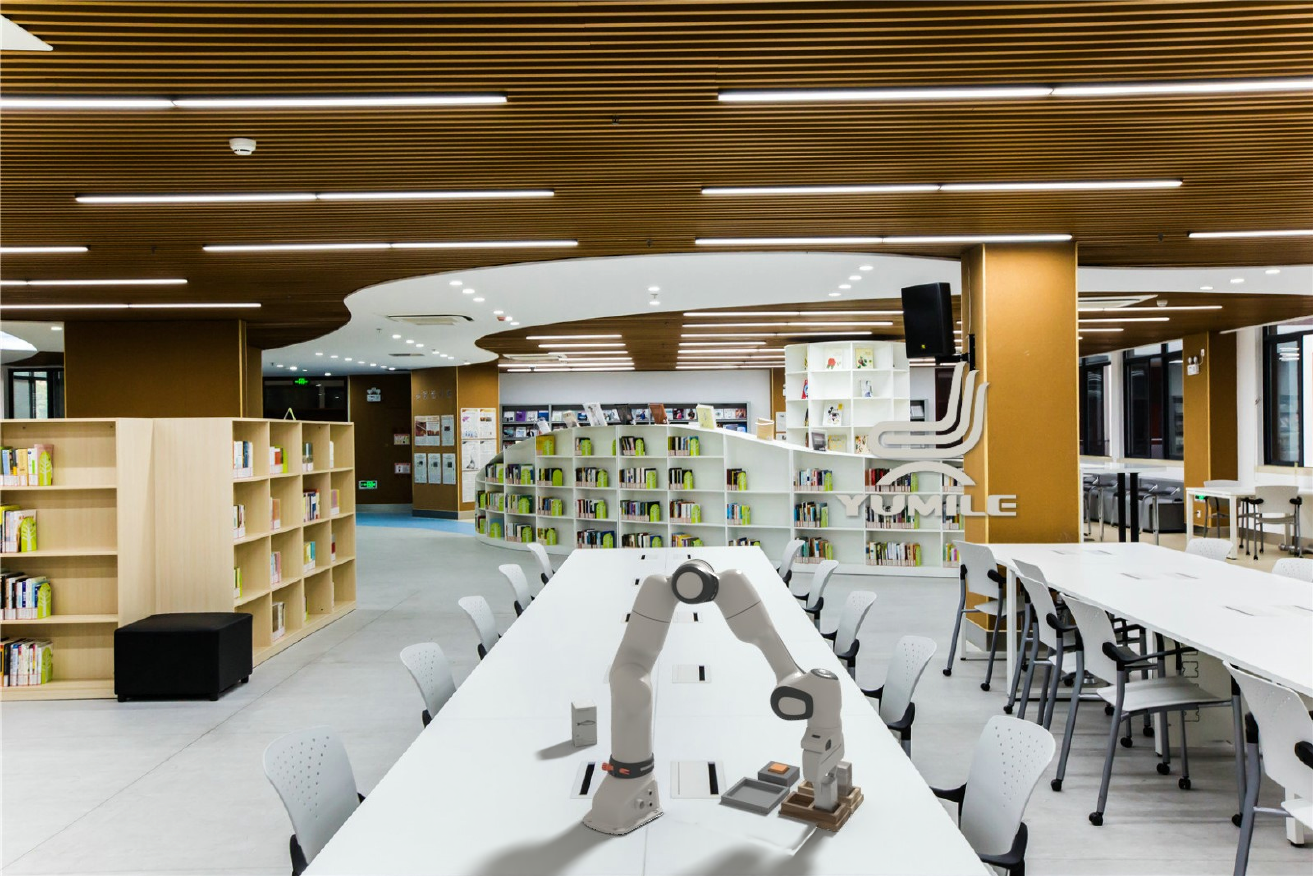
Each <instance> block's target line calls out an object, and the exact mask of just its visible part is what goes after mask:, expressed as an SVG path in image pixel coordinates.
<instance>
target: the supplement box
mask: <svg viewBox="0 0 1313 876" xmlns="http://www.w3.org/2000/svg"><path fill="white" fill-rule="evenodd" d="M570 706H571V709H570V710H571V714H570V716H571V740H572V742H573V744H574V746H575V747H576V746H577V747H581V746H591V745H598V723H597V722H598V721H597V720H598V718H597V715H598V712H597V710H598V709H597V708H598V707H597V704H596V703H595V702H594V699H588V700H587V699H586V700H578V701H577V700H576V701H571V703H570Z"/></svg>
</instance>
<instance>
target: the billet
mask: <svg viewBox="0 0 1313 876" xmlns="http://www.w3.org/2000/svg"><path fill="white" fill-rule="evenodd" d="M820 783H821V786H822V793H821V794H820V795H816V794H814V798H815V809H816V810H820V811H824V812H828V813H832V814H834V813H835V812H836V811H837V809H838V798H837V778H834V777H830V776H827V774H826V775H825V776H824V777H823V778H822V779H821V782H820Z"/></svg>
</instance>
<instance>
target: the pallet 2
mask: <svg viewBox="0 0 1313 876" xmlns="http://www.w3.org/2000/svg"><path fill="white" fill-rule="evenodd" d="M777 811H778V812H777V813H778V814H781V815H785V816H787V817H791V818H796V819H799V820H803V821H807V822H811V823H815V824H816V825H815V827H816V828H821V829H823V830H827V829H829V830H828V831H831V830H832V831H831V832H835V831H836V833H838V832H837V831H839V830H840V829H841V828H842V827H843V826H842V825H844V824H845V823H846V822H847V821H846V820H848V819H850V818H851V817H850V816H851V814H850V811H849V810H847V804H846V803H841V802H838V809H837V811H836V812H835V813H834V814H832V813H828V812H824V811H820V810H816V809H815V798H814V796H812V795H808V794H804V793H800V792H798V791H795V790H793V791H791V792H790V794H789V795H788V796H787V797H785V798H784V799H783V800H782V801H781V802H780V808H779V810H777Z"/></svg>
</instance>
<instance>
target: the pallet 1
mask: <svg viewBox="0 0 1313 876" xmlns="http://www.w3.org/2000/svg"><path fill="white" fill-rule="evenodd" d="M836 778H837V798H838V802H841V803H846V804H847V810H849V811H850V815H853V813H854V812H855V811H856V810H857V809H858V808H859V806H860V805H861V804H862V803H863V801H864V800H865V799H864V793H862V789H861V788H862V787H860V786H855V785H853V763H852V762H849V761H844V760H840V761H839V762H838V767H837V771H836ZM797 792H800V793H804V794H808V795H812V796H814V787H813V785H812V782H808V781H806V780H805V779H804V780H803V781H802V782H801V783H800V784H798V785H797Z"/></svg>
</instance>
